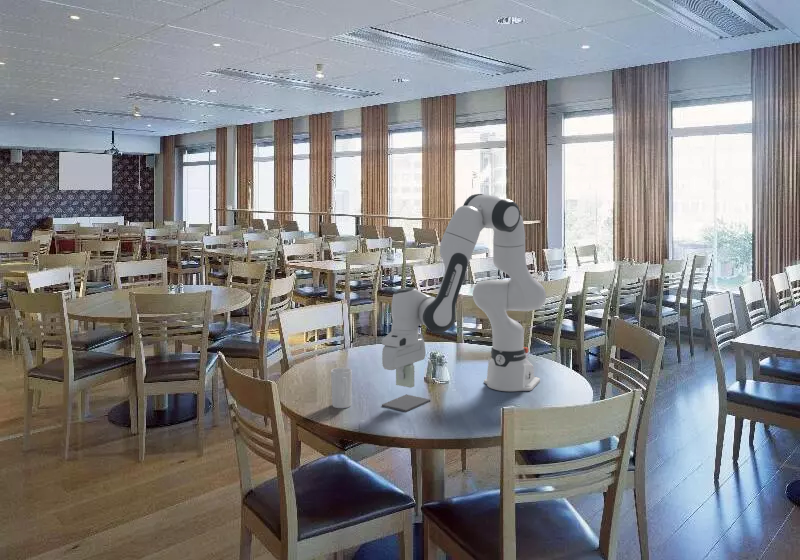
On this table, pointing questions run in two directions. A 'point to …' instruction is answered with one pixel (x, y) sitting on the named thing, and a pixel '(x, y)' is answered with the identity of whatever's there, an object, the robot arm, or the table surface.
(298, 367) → the table surface
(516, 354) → the robot arm
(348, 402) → the mug
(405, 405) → the mat
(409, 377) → the block
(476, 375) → the table surface
